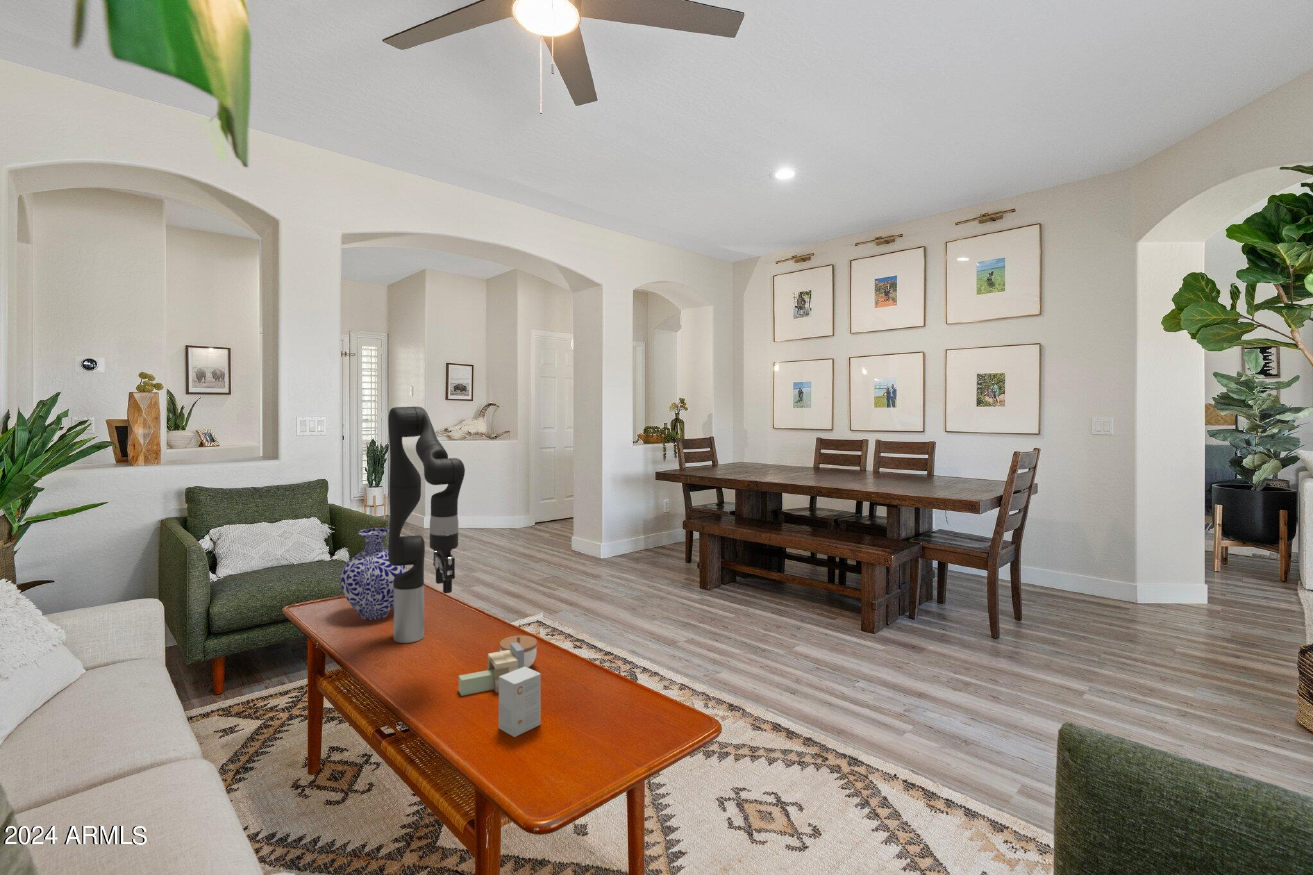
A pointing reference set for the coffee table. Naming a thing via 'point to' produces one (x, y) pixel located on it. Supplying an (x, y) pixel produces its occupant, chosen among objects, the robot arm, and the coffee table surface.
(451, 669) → the coffee table surface
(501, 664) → the block
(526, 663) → the lidded jar
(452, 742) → the coffee table surface
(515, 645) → the wall
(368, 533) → the vase
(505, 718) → the small box
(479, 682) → the pale green rectangular bar
